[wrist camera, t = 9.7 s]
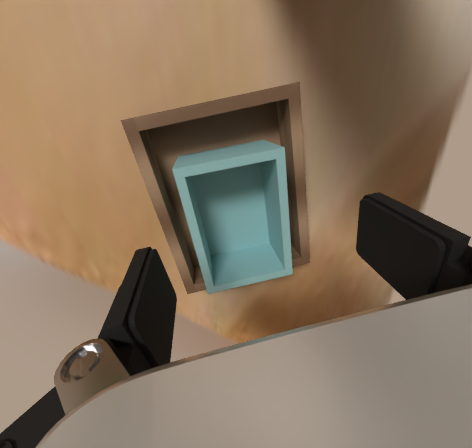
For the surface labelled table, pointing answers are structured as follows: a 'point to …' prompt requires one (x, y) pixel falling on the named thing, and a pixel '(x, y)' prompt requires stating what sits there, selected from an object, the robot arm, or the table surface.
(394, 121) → the table surface
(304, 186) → the walnut crate
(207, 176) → the teal crate
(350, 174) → the table surface
